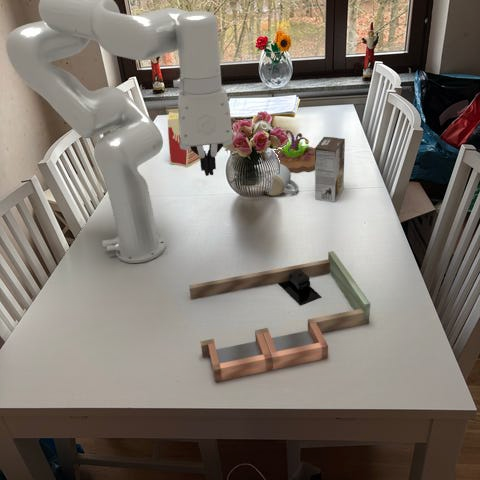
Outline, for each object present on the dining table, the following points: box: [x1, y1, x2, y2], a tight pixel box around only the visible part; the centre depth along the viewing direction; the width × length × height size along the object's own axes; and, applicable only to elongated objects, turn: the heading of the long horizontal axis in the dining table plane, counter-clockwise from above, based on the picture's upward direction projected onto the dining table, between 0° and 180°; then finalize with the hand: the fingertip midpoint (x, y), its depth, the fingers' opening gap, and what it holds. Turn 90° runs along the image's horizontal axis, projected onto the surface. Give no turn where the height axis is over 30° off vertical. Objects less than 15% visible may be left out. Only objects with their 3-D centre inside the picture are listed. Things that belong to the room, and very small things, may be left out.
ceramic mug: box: [266, 164, 299, 197], centre depth 148 cm, size 11×8×8 cm
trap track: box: [188, 250, 371, 383], centre depth 99 cm, size 33×26×5 cm
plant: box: [274, 130, 315, 174], centre depth 167 cm, size 20×20×11 cm
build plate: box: [277, 269, 322, 307], centre depth 107 cm, size 12×7×5 cm, turn 26°
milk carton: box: [166, 108, 200, 168], centre depth 172 cm, size 9×9×20 cm
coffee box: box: [314, 136, 346, 203], centre depth 142 cm, size 9×6×16 cm
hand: (208, 172), depth 103 cm, fingers closed
